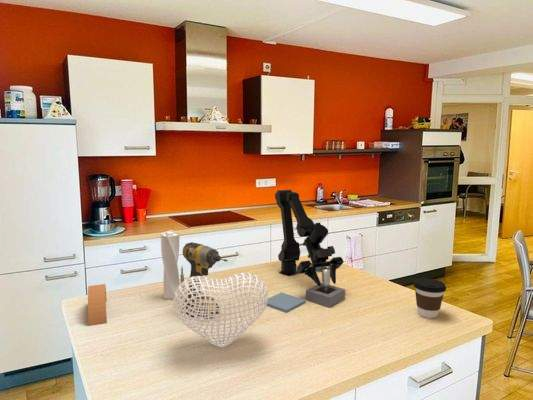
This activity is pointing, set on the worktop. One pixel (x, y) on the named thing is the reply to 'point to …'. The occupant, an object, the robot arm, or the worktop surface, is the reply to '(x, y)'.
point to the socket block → (325, 295)
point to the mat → (284, 302)
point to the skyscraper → (171, 263)
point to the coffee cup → (429, 296)
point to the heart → (219, 282)
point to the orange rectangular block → (97, 304)
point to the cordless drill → (200, 268)
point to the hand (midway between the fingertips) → (327, 284)
